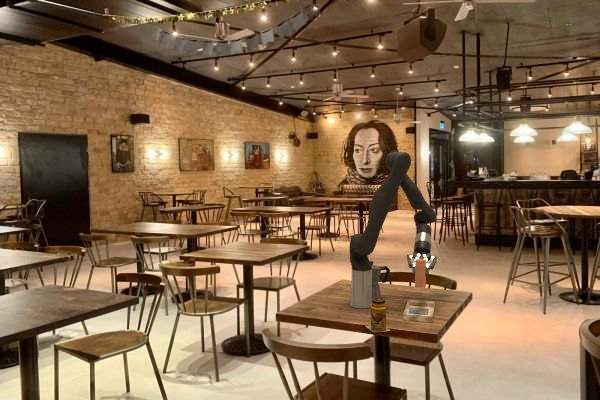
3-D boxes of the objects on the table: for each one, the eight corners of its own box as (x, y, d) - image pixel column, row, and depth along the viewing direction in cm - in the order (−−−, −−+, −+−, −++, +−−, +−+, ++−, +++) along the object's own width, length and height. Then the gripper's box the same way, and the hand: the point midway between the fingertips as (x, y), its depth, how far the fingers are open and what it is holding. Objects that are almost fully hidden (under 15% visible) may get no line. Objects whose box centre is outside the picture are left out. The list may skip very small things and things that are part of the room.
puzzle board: (402, 320, 216) (403, 313, 216) (408, 304, 239) (408, 298, 239) (432, 322, 213) (432, 315, 213) (434, 306, 236) (434, 300, 235)
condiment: (374, 333, 200) (374, 302, 199) (364, 326, 208) (365, 297, 207) (390, 331, 202) (391, 301, 202) (381, 324, 210) (381, 295, 210)
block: (414, 287, 228) (415, 260, 228) (415, 284, 233) (416, 258, 232) (425, 287, 227) (425, 261, 226) (425, 285, 231) (426, 259, 231)
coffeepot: (357, 299, 249) (357, 262, 248) (358, 294, 259) (358, 258, 257) (389, 300, 247) (390, 263, 246) (389, 295, 256) (389, 259, 255)
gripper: (406, 238, 238) (403, 269, 227) (438, 240, 234) (436, 272, 223) (407, 248, 243) (404, 279, 232) (438, 250, 239) (437, 281, 228)
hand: (420, 275), depth 228 cm, fingers closed on block, 4 cm apart
